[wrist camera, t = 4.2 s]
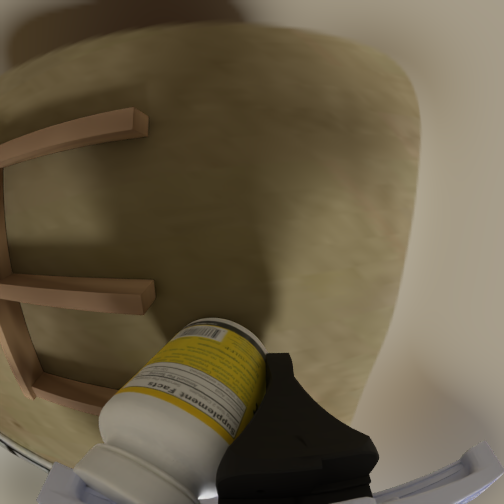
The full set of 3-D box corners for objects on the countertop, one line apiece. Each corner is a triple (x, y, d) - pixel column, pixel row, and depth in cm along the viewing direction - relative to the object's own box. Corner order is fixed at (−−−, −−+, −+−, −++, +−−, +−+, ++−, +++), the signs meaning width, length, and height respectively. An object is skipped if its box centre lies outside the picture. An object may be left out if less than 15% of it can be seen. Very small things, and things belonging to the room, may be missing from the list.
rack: (176, 407, 15) (169, 434, 13) (39, 379, 15) (25, 396, 13) (148, 116, 11) (129, 103, 9) (-5, 155, 11) (-30, 156, 8)
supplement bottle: (235, 410, 14) (165, 545, 5) (163, 354, 15) (51, 464, 5) (296, 361, 13) (245, 549, 3) (210, 292, 13) (55, 429, 4)
